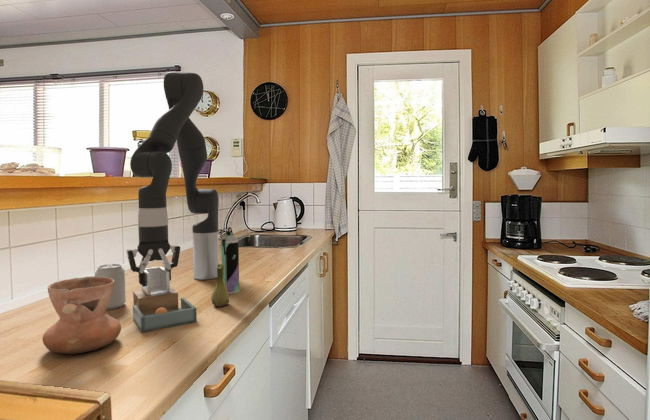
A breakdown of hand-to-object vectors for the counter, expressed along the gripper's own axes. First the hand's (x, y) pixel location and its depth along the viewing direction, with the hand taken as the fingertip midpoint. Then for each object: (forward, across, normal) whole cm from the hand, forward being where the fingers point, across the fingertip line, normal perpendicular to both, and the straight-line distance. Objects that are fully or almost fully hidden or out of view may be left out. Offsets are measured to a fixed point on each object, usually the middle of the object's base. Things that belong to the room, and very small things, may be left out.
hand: (155, 284), depth 111 cm
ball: (+4, 0, +10) cm, 11 cm away
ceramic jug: (+7, +18, +18) cm, 26 cm away
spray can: (+7, -24, -6) cm, 26 cm away
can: (+7, +10, -10) cm, 16 cm away
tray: (+7, 0, +10) cm, 13 cm away
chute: (+2, 0, 0) cm, 2 cm away
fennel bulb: (+7, -16, +7) cm, 19 cm away
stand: (+7, 0, 0) cm, 7 cm away
